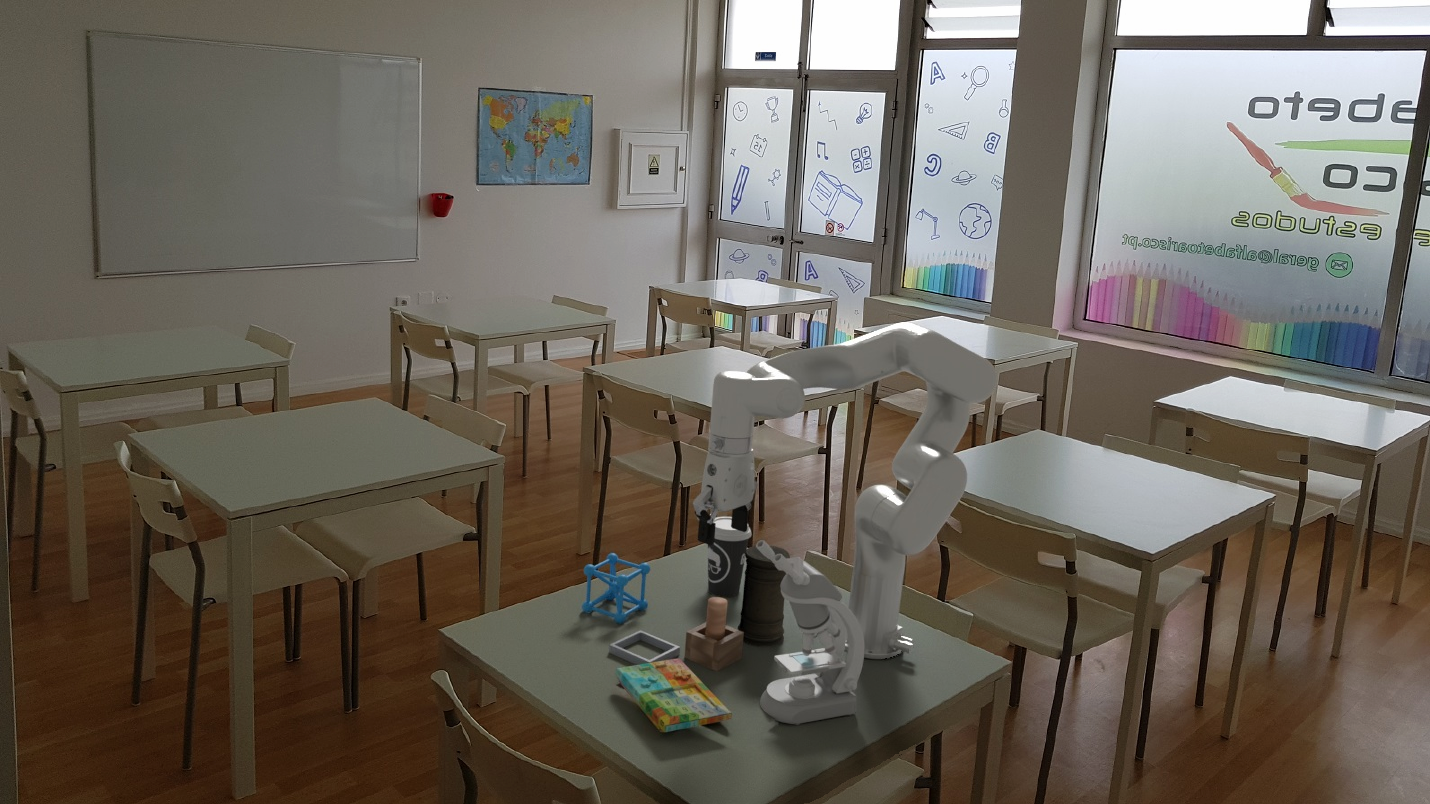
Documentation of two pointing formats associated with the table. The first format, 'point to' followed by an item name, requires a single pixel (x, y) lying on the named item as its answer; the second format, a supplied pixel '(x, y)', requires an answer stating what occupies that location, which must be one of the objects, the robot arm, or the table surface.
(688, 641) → the pin cup
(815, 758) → the table surface
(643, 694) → the puzzle game
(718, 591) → the coffee cup
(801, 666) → the microscope
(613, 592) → the molecular structure
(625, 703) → the table surface
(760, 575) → the container
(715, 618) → the dowel
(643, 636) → the tray
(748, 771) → the table surface
